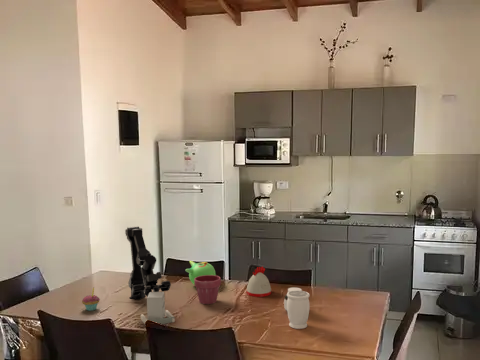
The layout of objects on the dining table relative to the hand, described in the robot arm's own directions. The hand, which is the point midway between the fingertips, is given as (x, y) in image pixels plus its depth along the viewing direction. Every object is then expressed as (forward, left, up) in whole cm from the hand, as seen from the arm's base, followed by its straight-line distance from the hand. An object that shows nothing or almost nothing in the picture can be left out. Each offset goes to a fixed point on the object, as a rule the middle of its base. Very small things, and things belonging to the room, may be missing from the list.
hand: (154, 303), depth 225 cm
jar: (+66, +19, -7) cm, 69 cm away
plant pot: (+11, +32, -7) cm, 34 cm away
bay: (+3, -2, -7) cm, 8 cm away
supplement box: (+3, -2, -7) cm, 8 cm away
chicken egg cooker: (+30, +57, -8) cm, 65 cm away
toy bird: (-7, +56, -7) cm, 56 cm away
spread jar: (+58, +37, -7) cm, 69 cm away
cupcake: (-38, -3, -7) cm, 38 cm away
